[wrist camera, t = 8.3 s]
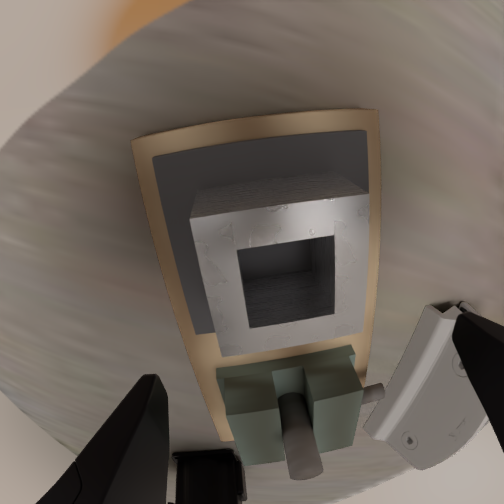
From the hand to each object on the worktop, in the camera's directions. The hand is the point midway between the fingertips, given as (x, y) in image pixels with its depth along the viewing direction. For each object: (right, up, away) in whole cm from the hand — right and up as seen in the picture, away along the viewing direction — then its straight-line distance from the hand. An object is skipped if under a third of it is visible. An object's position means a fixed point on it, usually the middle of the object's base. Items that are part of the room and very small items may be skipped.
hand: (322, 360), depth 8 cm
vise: (0, -1, +13) cm, 13 cm away
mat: (-1, +4, +8) cm, 9 cm away
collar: (-1, +3, +8) cm, 8 cm away
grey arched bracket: (+14, -8, +18) cm, 25 cm away
